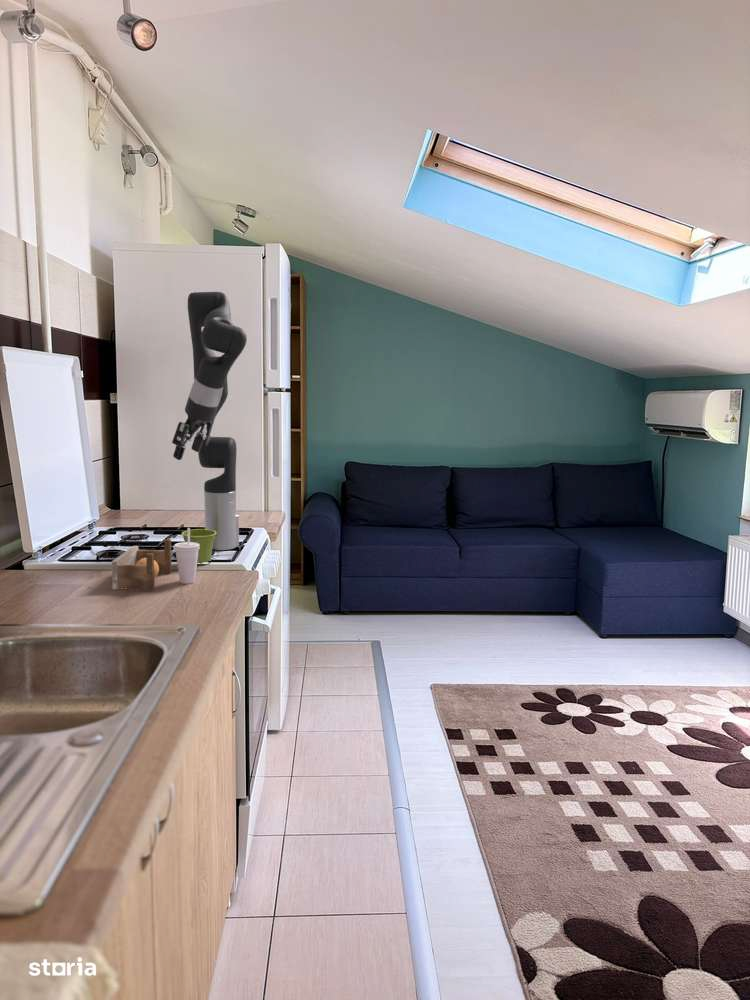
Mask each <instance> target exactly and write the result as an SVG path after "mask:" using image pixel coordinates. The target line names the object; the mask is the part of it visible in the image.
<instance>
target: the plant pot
mask: <svg viewBox="0 0 750 1000" xmlns="http://www.w3.org/2000/svg"><path fill="white" fill-rule="evenodd" d="M181 535H182V537H183V540H184V542H188V530H184V531H181ZM215 535H216V531H213V530H209V529H205V528H196V529H190V542H195V543H199V544H200V549H198V559H197V563H203V562H208V561H212V556H213V555H212V552H213V550H212V547H213V540H214V538H215Z"/></svg>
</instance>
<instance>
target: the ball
mask: <svg viewBox="0 0 750 1000" xmlns="http://www.w3.org/2000/svg"><path fill="white" fill-rule="evenodd" d="M136 565H147V562H146V558H143V559H141V560H139V561H138V562H137V563H136ZM158 572H159V566H158V564H157V562H156V561H155V560H154V580H155V579H156V578H157V577H158V574H159V573H158Z"/></svg>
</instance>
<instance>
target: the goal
mask: <svg viewBox="0 0 750 1000" xmlns="http://www.w3.org/2000/svg"><path fill="white" fill-rule="evenodd" d="M163 543H164V544H163V548H164V549H159V550H158V549H139V545H133V546H132V547H130V548H129V549H127V550H126V551H125V552H123V553H122V554H120V555H118V556H117V557H116V558H115V559H113V560H111V574H112V575H111V576H112V578H111V579H112V590H117V589H118V588H119V589H118V590H122V589H121V588H123V589H125V588H126V589H139V590H138V591H154V590H155V584H156V583H155V579H154V560H155V561H156V562H157V564H158V566H159V572H158V574H160V575H161V574H163V575H164V574H168V575H170V574H172V572H173V571H172V570H173V569H172V567H173V566H172V539H171V538H167V539H166V538H165V539H164V540H163ZM143 558H146V562H147V565H136V563H137V562H138V561H139V560H141V559H143Z"/></svg>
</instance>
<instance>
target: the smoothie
mask: <svg viewBox="0 0 750 1000" xmlns="http://www.w3.org/2000/svg"><path fill="white" fill-rule="evenodd" d="M187 530H188V542H185V541H183V542H178V543H175V544H174V545H173V550H175V555H176V557H175V558H176V563H177V568H178V569H177V571H178V576H179V581H180V582H179V583H181V584H184V585H185V584H186V585H187V584H189V585H190V584H194V583H196V577H197V566H198V565H197V559H198V549H200V544H199V543H195V542H190V530H191V528H190V527H187ZM187 530H186V531H187Z"/></svg>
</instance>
